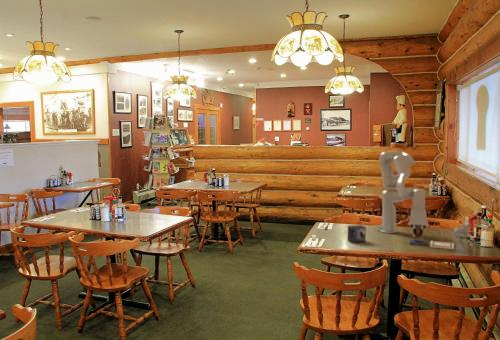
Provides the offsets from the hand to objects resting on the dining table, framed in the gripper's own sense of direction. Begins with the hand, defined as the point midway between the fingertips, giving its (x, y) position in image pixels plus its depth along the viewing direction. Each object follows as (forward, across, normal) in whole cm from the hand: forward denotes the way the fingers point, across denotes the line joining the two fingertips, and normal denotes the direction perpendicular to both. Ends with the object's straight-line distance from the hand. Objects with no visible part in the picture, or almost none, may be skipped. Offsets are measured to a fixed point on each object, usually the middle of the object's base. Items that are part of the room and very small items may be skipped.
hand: (418, 234), depth 283 cm
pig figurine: (+6, +28, +31) cm, 42 cm away
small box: (+6, -38, -13) cm, 41 cm away
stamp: (+3, 0, 0) cm, 3 cm away
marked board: (+6, +15, 0) cm, 16 cm away
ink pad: (+6, 0, 0) cm, 6 cm away
